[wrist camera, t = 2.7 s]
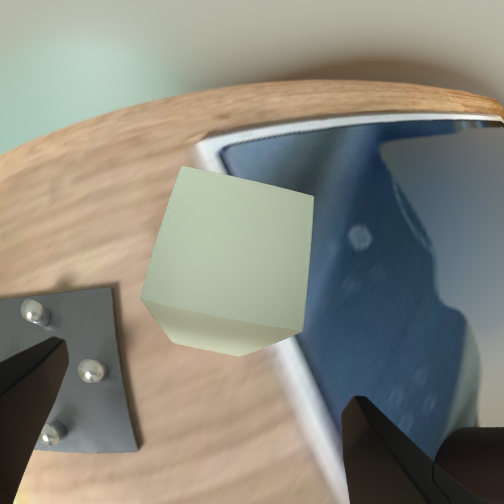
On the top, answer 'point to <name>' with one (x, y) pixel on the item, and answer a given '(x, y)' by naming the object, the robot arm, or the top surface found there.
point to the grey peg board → (76, 368)
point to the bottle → (476, 461)
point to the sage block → (230, 263)
